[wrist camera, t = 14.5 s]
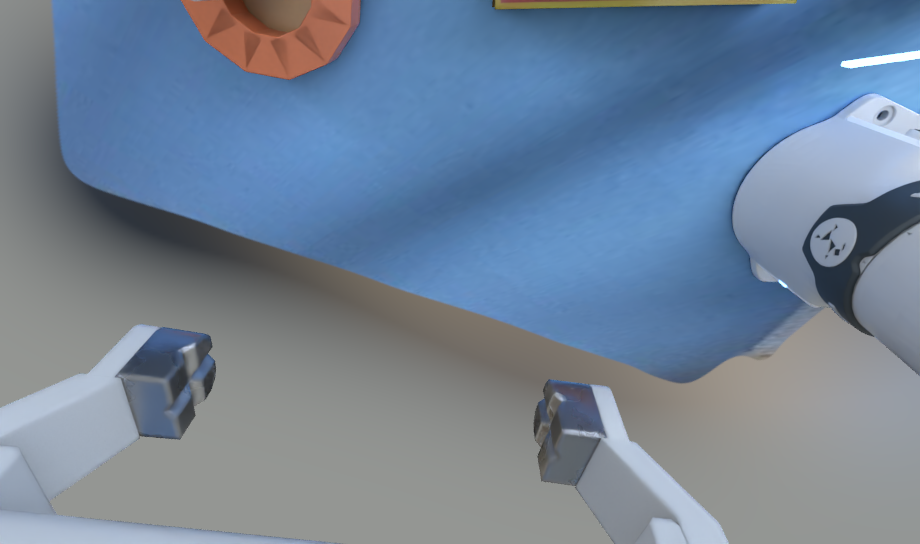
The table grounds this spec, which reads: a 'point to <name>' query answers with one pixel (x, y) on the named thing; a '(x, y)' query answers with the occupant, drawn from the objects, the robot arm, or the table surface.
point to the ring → (276, 35)
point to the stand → (278, 12)
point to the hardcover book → (620, 3)
